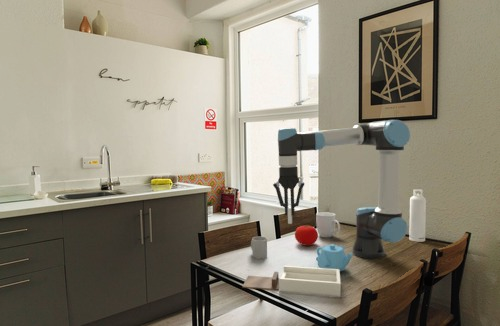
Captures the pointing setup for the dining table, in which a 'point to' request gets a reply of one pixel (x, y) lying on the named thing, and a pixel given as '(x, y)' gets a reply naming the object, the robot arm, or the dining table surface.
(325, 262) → the teapot
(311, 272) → the lid box
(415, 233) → the bottle
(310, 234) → the tomato
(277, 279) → the cover plate
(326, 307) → the dining table surface
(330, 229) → the mug
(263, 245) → the cup
